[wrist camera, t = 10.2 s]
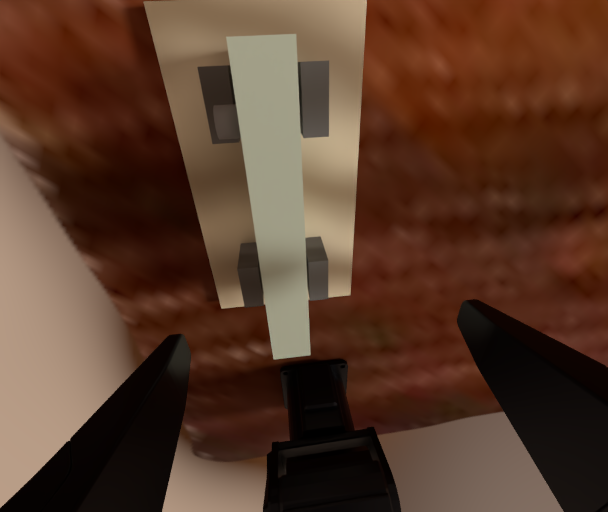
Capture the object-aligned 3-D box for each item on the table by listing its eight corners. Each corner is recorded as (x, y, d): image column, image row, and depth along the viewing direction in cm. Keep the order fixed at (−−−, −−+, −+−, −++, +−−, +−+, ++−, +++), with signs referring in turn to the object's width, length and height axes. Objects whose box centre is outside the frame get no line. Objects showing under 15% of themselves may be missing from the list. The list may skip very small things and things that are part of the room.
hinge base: (347, 287, 24) (360, 322, 21) (222, 299, 24) (215, 338, 20) (361, -2, 15) (390, -22, 11) (150, 5, 14) (114, -14, 11)
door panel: (298, 278, 22) (310, 355, 16) (257, 282, 22) (254, 361, 16) (283, 46, 14) (296, 33, 9) (220, 49, 14) (190, 38, 8)
